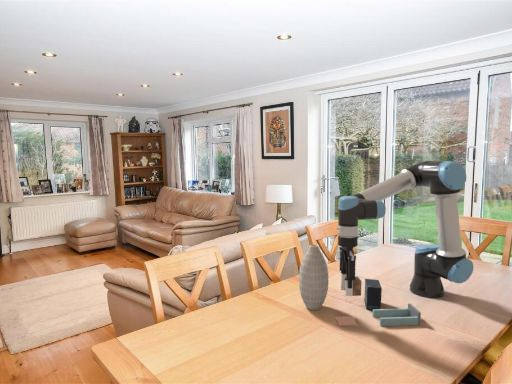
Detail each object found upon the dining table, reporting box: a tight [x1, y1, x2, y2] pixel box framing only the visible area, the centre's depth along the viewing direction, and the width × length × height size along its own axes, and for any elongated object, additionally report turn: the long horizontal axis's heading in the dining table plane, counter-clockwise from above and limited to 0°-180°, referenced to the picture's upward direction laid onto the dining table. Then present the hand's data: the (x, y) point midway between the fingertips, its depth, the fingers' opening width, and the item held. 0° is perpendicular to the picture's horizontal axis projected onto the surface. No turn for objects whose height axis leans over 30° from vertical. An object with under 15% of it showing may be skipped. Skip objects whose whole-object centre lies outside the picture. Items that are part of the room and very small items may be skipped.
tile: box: [334, 316, 359, 328], centre depth 143 cm, size 7×7×1 cm
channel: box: [372, 303, 422, 327], centre depth 144 cm, size 16×8×5 cm, turn 93°
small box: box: [363, 278, 383, 311], centre depth 158 cm, size 11×6×10 cm, turn 168°
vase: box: [298, 243, 329, 311], centre depth 155 cm, size 13×13×28 cm
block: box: [345, 276, 362, 297], centre depth 141 cm, size 5×5×6 cm
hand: (346, 292), depth 142 cm, fingers closed on block, 5 cm apart
